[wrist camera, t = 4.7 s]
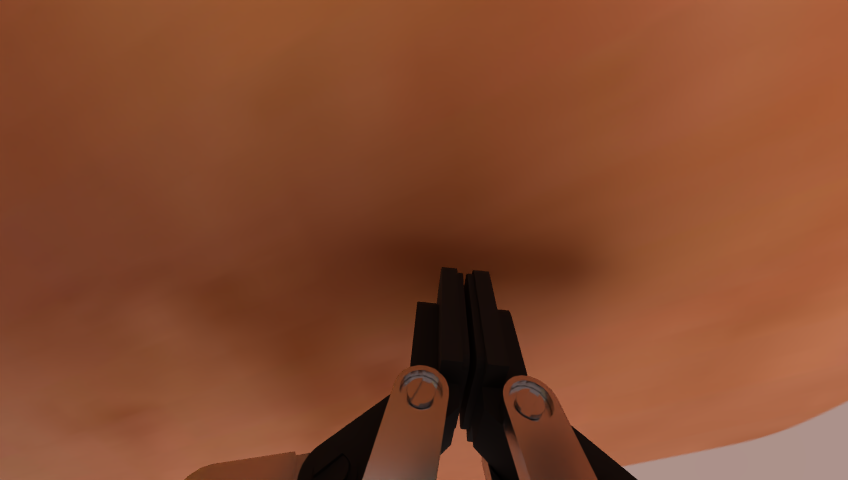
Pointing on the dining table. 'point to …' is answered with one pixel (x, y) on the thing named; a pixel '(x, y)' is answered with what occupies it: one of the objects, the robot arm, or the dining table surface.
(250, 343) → the dining table surface
